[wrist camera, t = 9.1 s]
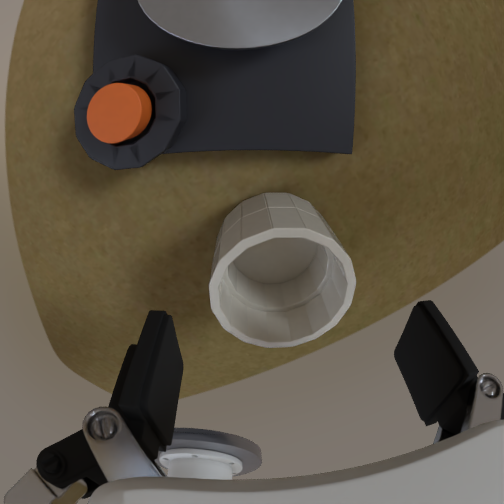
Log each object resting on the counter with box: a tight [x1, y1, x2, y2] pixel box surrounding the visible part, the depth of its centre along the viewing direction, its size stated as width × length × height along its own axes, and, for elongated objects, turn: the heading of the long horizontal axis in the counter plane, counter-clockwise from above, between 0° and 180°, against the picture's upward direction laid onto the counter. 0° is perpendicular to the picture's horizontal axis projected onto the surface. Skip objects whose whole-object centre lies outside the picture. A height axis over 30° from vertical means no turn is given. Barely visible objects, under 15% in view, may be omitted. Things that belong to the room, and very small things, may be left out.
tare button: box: [87, 83, 152, 143], centre depth 11 cm, size 3×3×2 cm
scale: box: [74, 0, 356, 170], centre depth 10 cm, size 16×14×3 cm
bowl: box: [209, 193, 356, 348], centre depth 16 cm, size 7×7×6 cm
